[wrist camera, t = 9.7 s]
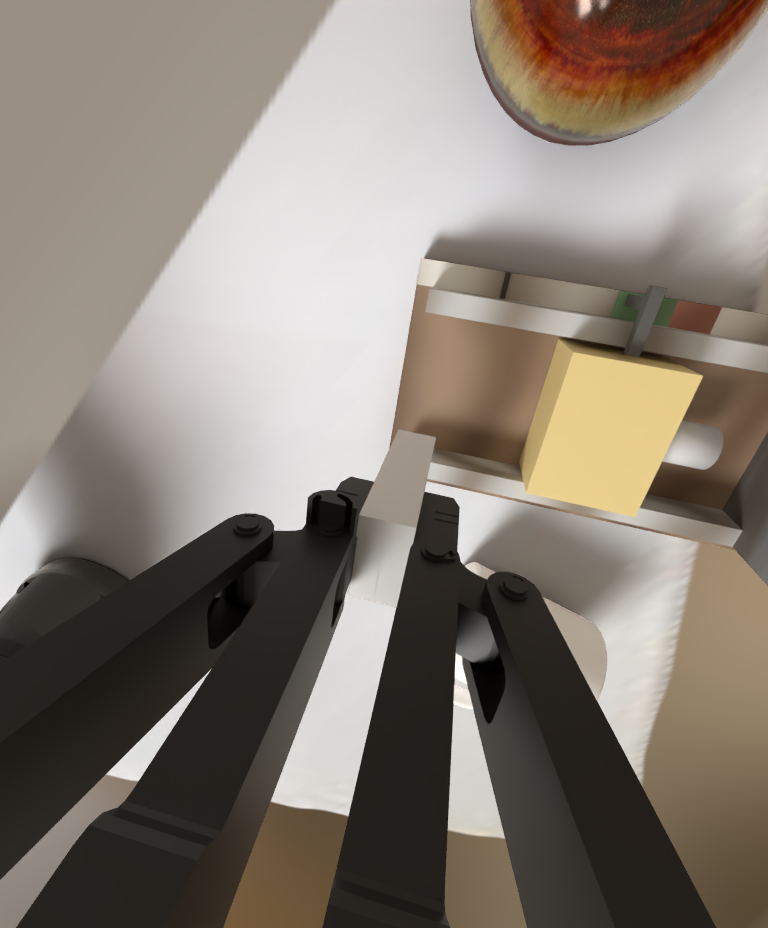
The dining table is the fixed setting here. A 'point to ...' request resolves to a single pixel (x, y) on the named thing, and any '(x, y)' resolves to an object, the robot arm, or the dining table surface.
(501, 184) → the dining table surface
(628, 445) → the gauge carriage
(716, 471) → the bench
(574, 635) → the mug
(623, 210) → the dining table surface
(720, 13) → the vase
